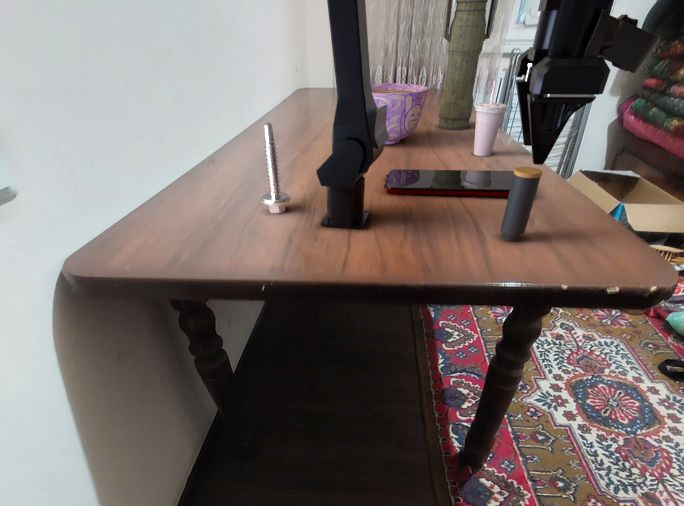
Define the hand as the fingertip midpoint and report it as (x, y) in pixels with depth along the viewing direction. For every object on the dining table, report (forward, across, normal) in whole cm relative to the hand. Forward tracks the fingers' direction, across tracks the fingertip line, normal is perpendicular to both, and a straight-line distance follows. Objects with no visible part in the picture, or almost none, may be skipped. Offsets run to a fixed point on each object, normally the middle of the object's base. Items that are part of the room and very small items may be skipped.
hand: (532, 154), depth 50 cm
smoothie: (+11, +47, +2) cm, 48 cm away
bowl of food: (+11, +57, +26) cm, 64 cm away
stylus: (+11, 0, 0) cm, 11 cm away
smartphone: (+11, +22, +8) cm, 26 cm away
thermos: (+11, +78, +9) cm, 79 cm away
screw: (+11, +4, +36) cm, 38 cm away
